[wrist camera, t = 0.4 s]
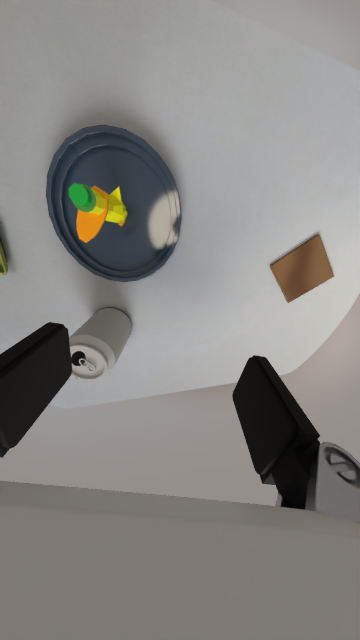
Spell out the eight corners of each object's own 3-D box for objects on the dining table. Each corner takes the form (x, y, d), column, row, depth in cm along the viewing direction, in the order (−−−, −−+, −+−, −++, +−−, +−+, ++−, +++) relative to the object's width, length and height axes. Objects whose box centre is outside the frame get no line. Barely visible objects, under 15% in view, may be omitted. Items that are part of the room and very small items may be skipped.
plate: (119, 92, 20) (112, 77, 18) (204, 231, 27) (206, 231, 25) (31, 203, 25) (18, 200, 23) (120, 298, 32) (116, 302, 30)
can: (103, 298, 32) (63, 331, 21) (139, 319, 34) (120, 359, 23) (88, 328, 34) (47, 371, 24) (123, 345, 36) (98, 392, 26)
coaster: (317, 234, 27) (319, 234, 27) (332, 275, 30) (334, 276, 29) (269, 266, 29) (270, 266, 29) (287, 302, 32) (288, 302, 31)
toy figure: (121, 245, 27) (81, 252, 16) (99, 232, 26) (42, 230, 16) (139, 202, 25) (108, 176, 14) (116, 185, 24) (63, 145, 13)
